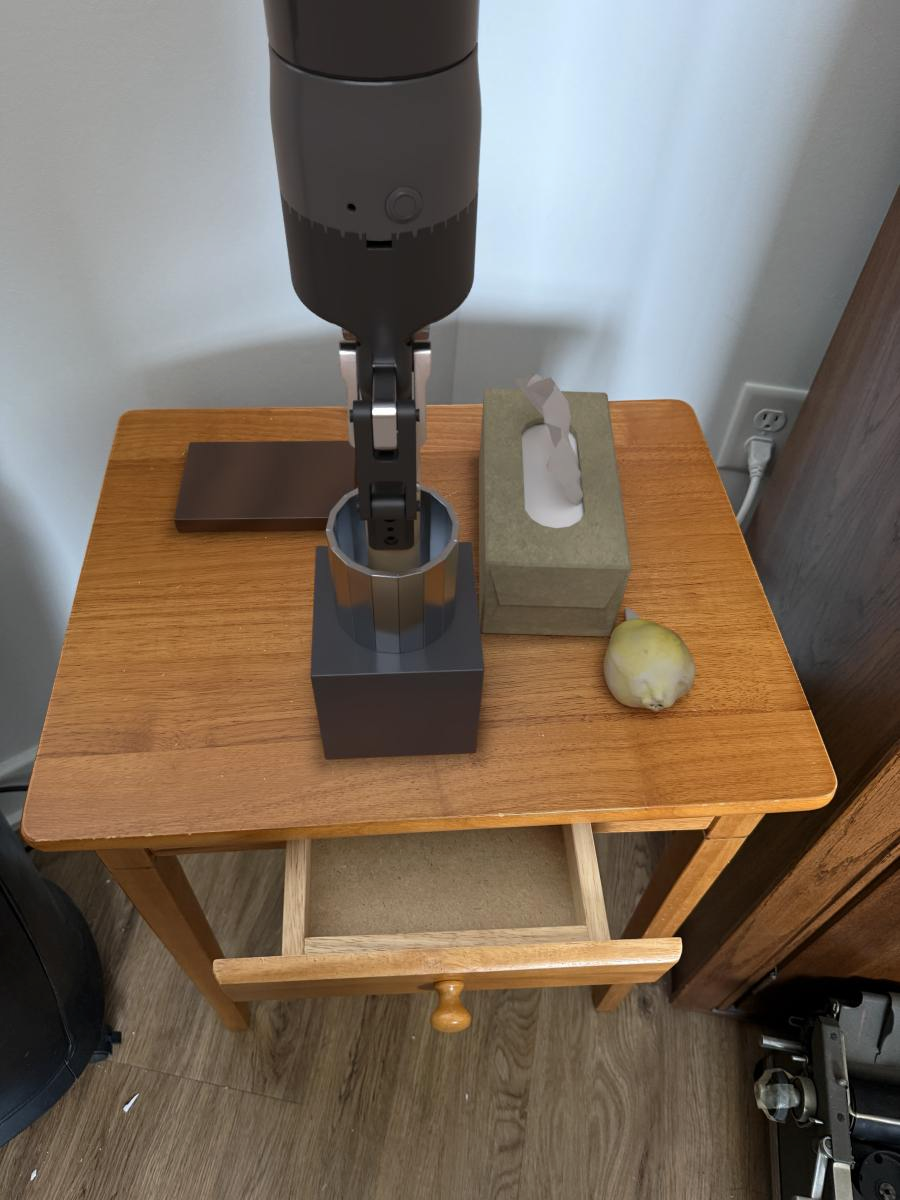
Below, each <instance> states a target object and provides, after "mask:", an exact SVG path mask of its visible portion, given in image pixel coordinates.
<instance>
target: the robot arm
mask: <svg viewBox="0 0 900 1200" xmlns="http://www.w3.org/2000/svg"><path fill="white" fill-rule="evenodd" d="M480 2H481V1H480V0H262V3H263V4H262V5H263V11H264V20H265V28H266V36H267V39H268V46H267V47H268V56H269V57H268V59H269V115H270V125H271V135H272V142H273V149H274V156H275V165H276V166H275V167H276V172H277V180H278V188H279V196H280V203H281V211H282V212H281V213H282V220H283V226H284V235H285V241H286V250H287V258H288V264H289V265H288V266H289V274H290V279H291V281H290V282H291V284H292V288H293V290H294V293H295V294H296V296H297V297H298V300H299V301H300V302H301V303H302V305H304V306H305V308H306V309H307V310H308V311H310V312H311V313H313V314H314V315H315V316H316V317H318V318H319V319H322V320H323V321H326V322H327V323H329V324H331V325H332V324H333V325H334V326H337V327H339V328H341V334H342V338H343V339H339V340H338V363H339V365H338V366H339V376H340V378H341V380H342V381H343V383H345V388H346V389H345V391H346V393H345V394H346V395H345V396H346V420H347V441H349V443H350V445H351V446H352V447H354V448H355V455H356V482H357V488H358V495H359V501H357V513H359V512H360V520H361V521H367V528H368V542H369V546H370V547H371V548H372V549H374V550H378V551H382V550H408V549H411V548H412V547H413V546H414V520H417V512H420V500H417V492H419V481H417V480H416V451H417V449H419V448H420V449H421V448H422V447H423V446H424V445H425V444H426V442H427V439H428V436H427V435H428V434H427V432H428V431H427V430H428V429H427V383H428V381H429V380H430V379H431V376H432V374H433V373H432V371H433V370H432V368H433V367H432V366H433V365H432V339H431V338H430V329H431V327H430V326H431V325H432V324H436V323H438V322H440V321H441V320H444V319H445V318H447V317H448V316H450V315H452V313H454V312H455V311H457V310H458V309H459V308H460V307H461V306H462V305H463V304H464V302H465V301H466V300H467V299H468V297H469V295H470V293H471V290H472V289H473V285H474V281H475V268H476V267H475V266H476V249H477V248H476V246H477V227H478V203H479V186H480V185H479V184H480V183H479V181H480V163H481V162H480V161H481V143H482V123H483V122H482V119H483V117H482V115H483V113H482V112H483V109H482V108H483V106H482V92H481V82H480V69H479V42H478V41H479V27H480V26H479V24H480V6H481V5H480ZM429 338H430V339H429Z"/></svg>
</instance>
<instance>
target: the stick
mask: <svg viewBox="0 0 900 1200" xmlns="http://www.w3.org/2000/svg"><path fill="white" fill-rule="evenodd" d="M416 480H417V481H419V492H417V500H420V484H421V447H420V448H419V449H417V451H416ZM365 526H366V540H367V554H368V568H370V569H372V570H378V571H390V572H400V571H405V570H409V569H414V568H418V567H420V512H417V520H414V546H413V547H412V548H411V549H408V550H382V551H378V550H374V549H372V548H371V547H370V546H369V542H368V528H367V521H365Z"/></svg>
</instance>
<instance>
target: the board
mask: <svg viewBox="0 0 900 1200" xmlns="http://www.w3.org/2000/svg"><path fill="white" fill-rule="evenodd" d="M187 447H188V448H187V451H186V457H185V462H184V466H183V472H182V477H181V482H180V486H179V491H178V497H177V502H176V506H175V511H174V516H173V522H174V524H175V525H174V526H175V528H176V531H177V533H208V532H209V533H211V532H213V533H214V532H220V533H221V532H279V531H280V532H281V531H283V532H284V531H287V532H289V531H326V527H327V523H328V519H329V514H330V512H331V510H332V509H333V508H334V507H335V505H336V504H337V503H338V502H339V501H340V499H341V498H342V497H343V496H344V495H346V494H347V493H349V492H351V491H353V490H355V489H357V485H356V484H357V468H356V455H355V448H354V447H352V446H351V445H350V443H349V441H348V440H273V441H272V440H270V441H269V440H267V441H264V440H263V441H260V440H259V441H189V443H188V446H187Z"/></svg>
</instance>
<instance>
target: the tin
mask: <svg viewBox="0 0 900 1200" xmlns="http://www.w3.org/2000/svg"><path fill="white" fill-rule="evenodd" d="M357 501H359V495H358V487H356V489H355V490H353V491H351V492H349V493H347V494H346V495H344V496H343V497H342V498H341V499H340V501H339V502H338V503H337V504H336V505H335V507H334V508H333V509H332V510H331V512H330V514H329V519H328V523H327V527H326V530H325V536H326V537H325V538H326V546H328V553H329V561H330V569H331V577H332V586H333V594H334V602H335V609H336V613H337V616H338V620H339V623H340V626H341V628H342V629H343V630H344V631H345V632H346V633H347V634H348V635H349V636H350V637H351V638H352V639H353V640H354V641H355V642H356V643H358V644H360V645H363V646H365V647H367V648H369V649H371V650H374V651H377V652H386V653H398V654H400V653H405V652H410V651H414V650H418V649H422V648H423V647H424V648H425V647H426V646H428V645H429V644H431V643H432V642H434V641H435V640H437V639H438V638H440V637H441V636H442V635H443V634H444V633H445V631H446V630H447V628H448V627H449V625H450V624H451V622H452V620H453V618H454V612H455V602H456V584H457V565H458V545H459V542H460V523H461V522H460V520H459V518H458V515H457V513H456V510H455V508H454V506H453V504H452V503H451V502H450V501H449V500H447V499H446V498H445V497H444V496H443V495H442V494H441V493H440V492H439V491H438V490H436V489H434V488H431V487H430V486H427V485H424V484H421V483H420V567H418V568H414V569H409V570H405V571H400V572H390V571H378V570H372V569H370V568H368V554H367V540H366V526H365V521H361V520H360V512H359V513H357Z"/></svg>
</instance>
